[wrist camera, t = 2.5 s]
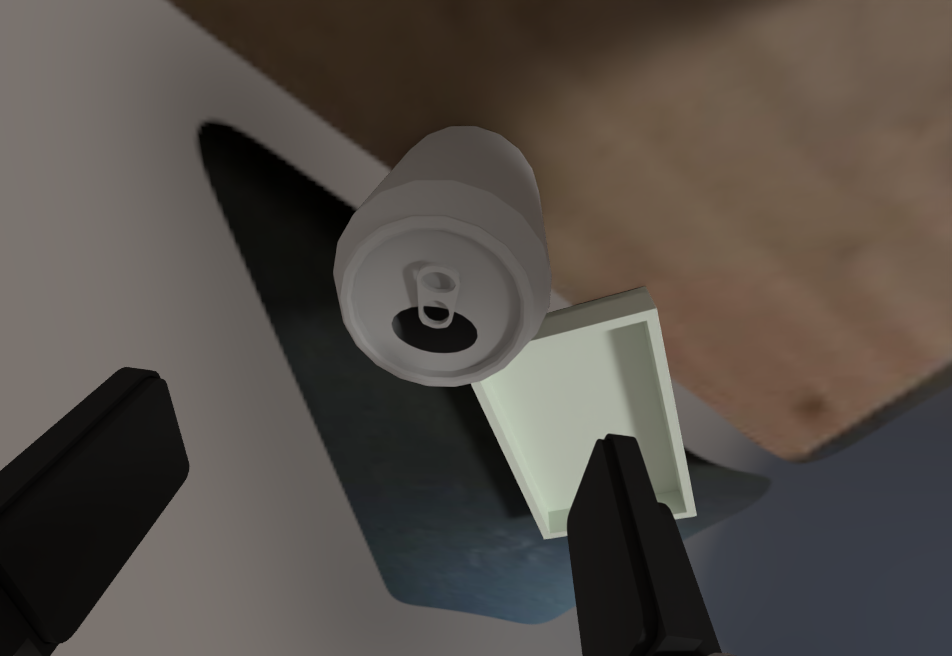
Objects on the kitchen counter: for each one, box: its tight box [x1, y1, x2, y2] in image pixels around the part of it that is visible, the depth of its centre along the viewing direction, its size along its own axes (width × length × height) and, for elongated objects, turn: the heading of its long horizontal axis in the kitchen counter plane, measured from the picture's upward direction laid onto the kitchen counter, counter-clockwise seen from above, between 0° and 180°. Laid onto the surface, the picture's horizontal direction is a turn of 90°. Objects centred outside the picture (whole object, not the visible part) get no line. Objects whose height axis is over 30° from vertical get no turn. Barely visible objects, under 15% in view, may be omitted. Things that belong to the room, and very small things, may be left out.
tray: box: [471, 286, 697, 539], centre depth 31 cm, size 18×11×2 cm, turn 20°
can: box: [333, 126, 552, 387], centre depth 20 cm, size 8×8×12 cm
